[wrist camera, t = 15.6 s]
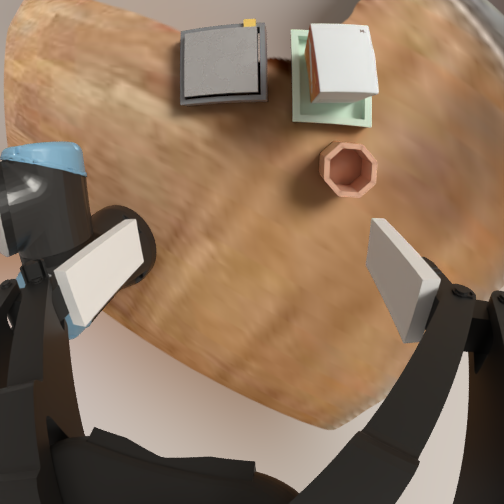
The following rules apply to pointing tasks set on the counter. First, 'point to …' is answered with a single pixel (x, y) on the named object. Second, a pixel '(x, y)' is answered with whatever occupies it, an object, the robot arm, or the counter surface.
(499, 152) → the counter surface
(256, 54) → the grey flat square panel
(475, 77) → the counter surface
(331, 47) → the small box
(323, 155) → the cup
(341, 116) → the mint green tray
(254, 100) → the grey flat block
